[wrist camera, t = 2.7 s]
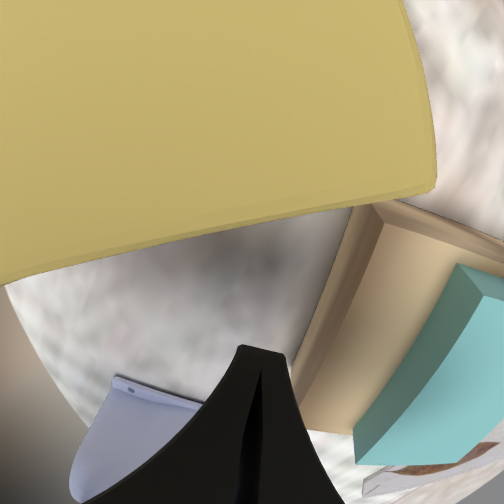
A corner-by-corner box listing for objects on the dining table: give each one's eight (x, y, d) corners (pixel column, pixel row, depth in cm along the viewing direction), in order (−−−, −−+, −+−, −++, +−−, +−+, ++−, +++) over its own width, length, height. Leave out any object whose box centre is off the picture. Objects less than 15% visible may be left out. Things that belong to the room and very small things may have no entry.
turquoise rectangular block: (352, 429, 13) (355, 464, 11) (457, 262, 9) (483, 295, 7) (448, 433, 13) (456, 462, 11) (551, 296, 9) (575, 323, 7)
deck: (291, 366, 17) (288, 426, 13) (359, 188, 12) (384, 222, 9) (461, 391, 17) (478, 437, 13) (543, 260, 12) (583, 297, 9)
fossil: (362, 498, 24) (367, 463, 19) (361, 489, 25) (366, 450, 20) (503, 457, 21) (539, 407, 16) (500, 449, 22) (535, 397, 17)
